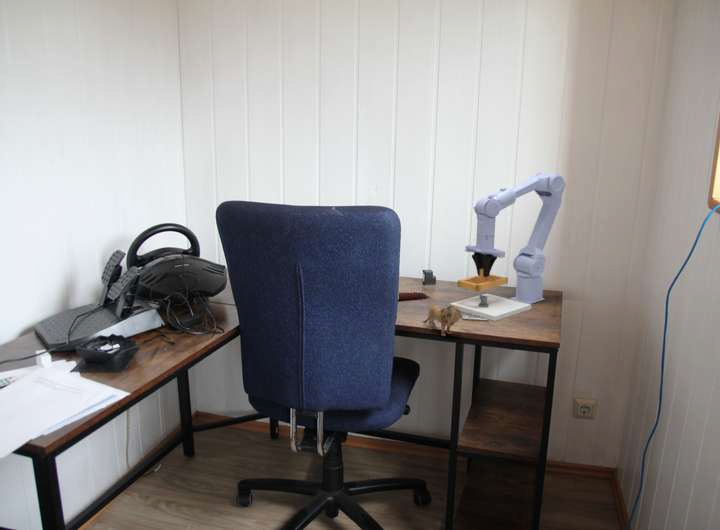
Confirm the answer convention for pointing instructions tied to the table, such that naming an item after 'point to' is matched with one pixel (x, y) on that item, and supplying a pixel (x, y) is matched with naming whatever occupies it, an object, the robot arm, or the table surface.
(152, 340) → the table surface
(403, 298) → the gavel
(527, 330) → the table surface
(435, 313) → the lion figurine
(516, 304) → the board
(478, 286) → the orange link
